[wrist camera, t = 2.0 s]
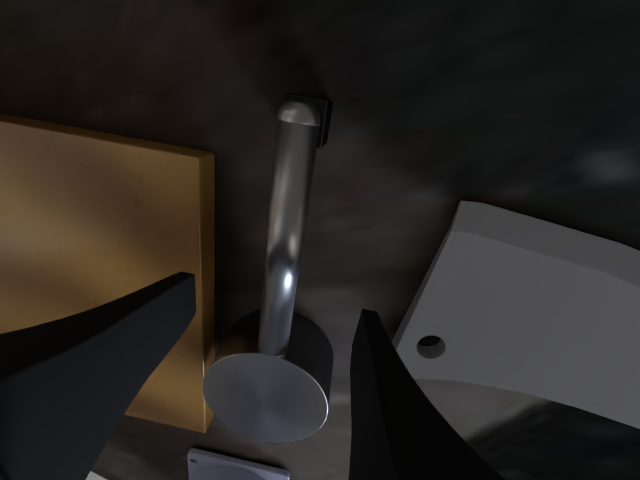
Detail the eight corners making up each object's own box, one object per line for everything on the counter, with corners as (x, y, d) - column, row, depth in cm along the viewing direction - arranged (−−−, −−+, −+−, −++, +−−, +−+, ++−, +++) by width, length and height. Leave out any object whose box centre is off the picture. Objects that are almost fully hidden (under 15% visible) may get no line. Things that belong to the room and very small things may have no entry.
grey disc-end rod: (324, 399, 18) (317, 453, 16) (227, 377, 19) (203, 427, 16) (394, 111, 11) (406, 112, 8) (234, 84, 11) (192, 75, 9)
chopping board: (215, 412, 20) (205, 434, 19) (-45, 352, 21) (-72, 369, 20) (215, 152, 13) (198, 157, 11) (-191, 77, 14) (-252, 74, 12)
